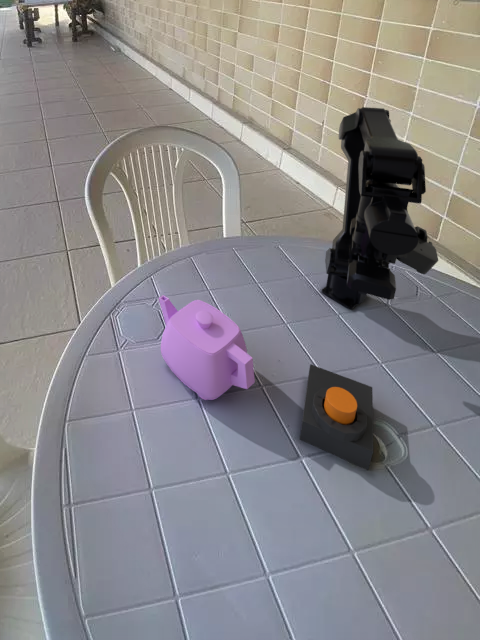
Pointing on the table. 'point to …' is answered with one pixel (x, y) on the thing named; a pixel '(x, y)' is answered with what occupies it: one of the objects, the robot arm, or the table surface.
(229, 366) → the teapot
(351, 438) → the button base
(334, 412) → the round orange button
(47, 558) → the table surface
